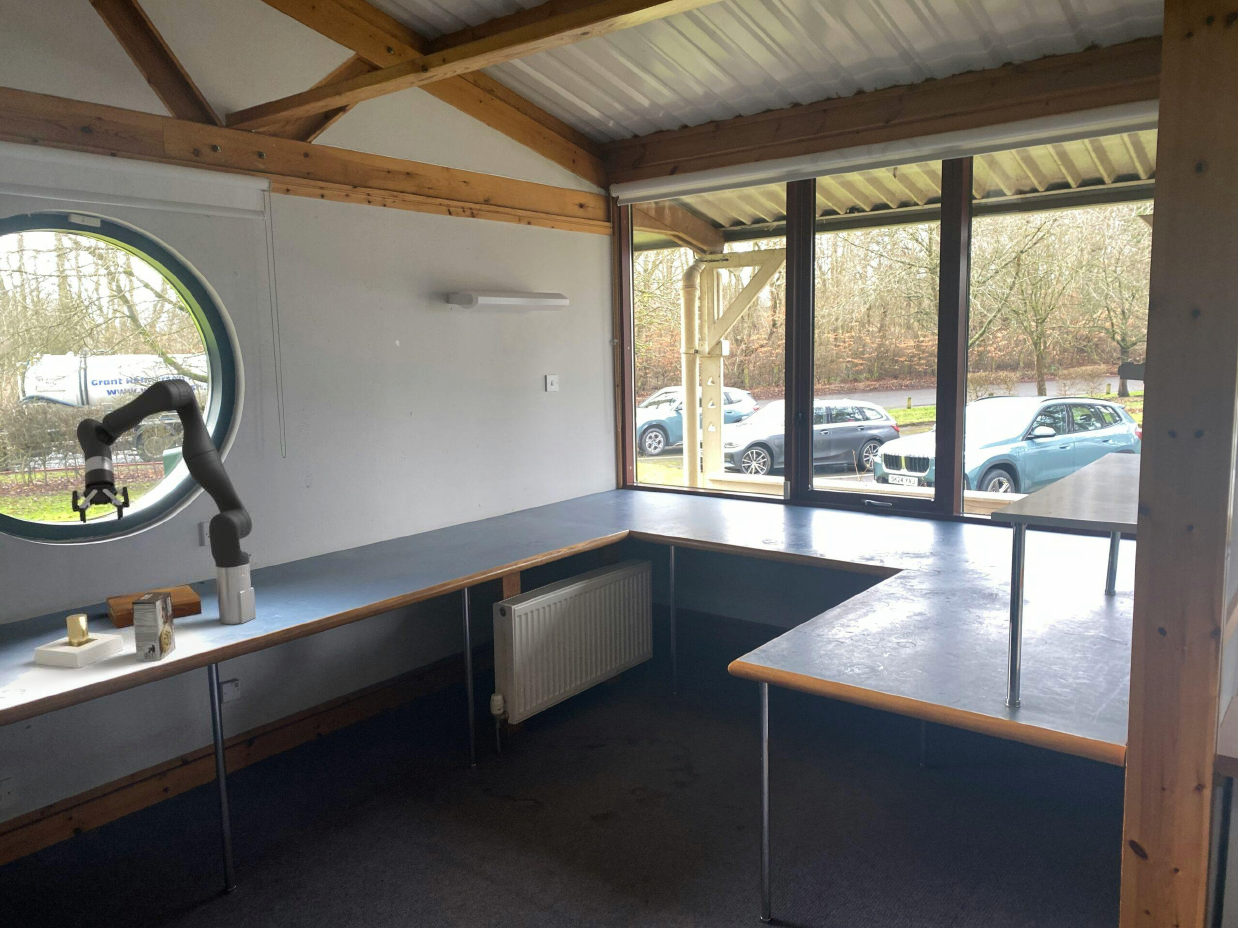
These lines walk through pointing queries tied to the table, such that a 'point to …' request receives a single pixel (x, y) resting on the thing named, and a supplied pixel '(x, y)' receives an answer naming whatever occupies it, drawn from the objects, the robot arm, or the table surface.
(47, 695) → the table surface
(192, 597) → the brown wooden box
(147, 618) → the coffee box
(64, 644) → the socket
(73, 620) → the peg
